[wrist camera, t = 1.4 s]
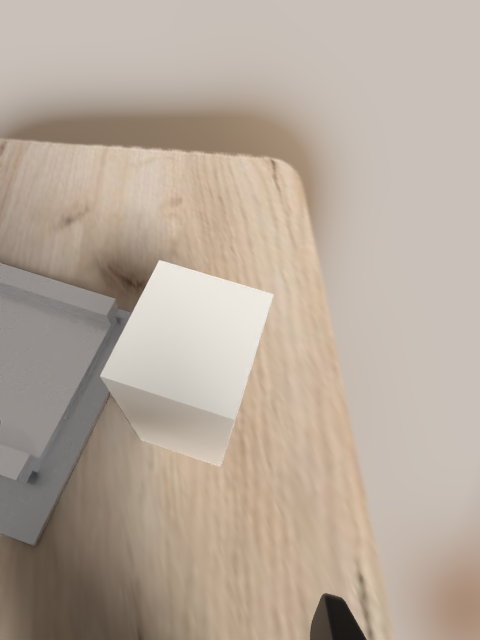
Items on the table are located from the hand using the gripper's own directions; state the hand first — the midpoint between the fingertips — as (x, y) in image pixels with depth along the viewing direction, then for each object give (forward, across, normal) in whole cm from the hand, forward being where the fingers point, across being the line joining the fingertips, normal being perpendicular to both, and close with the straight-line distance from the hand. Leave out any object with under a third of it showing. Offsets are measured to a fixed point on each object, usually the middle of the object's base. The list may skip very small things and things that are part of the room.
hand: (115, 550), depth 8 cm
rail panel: (+13, +12, +5) cm, 18 cm away
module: (+14, 0, +4) cm, 14 cm away
